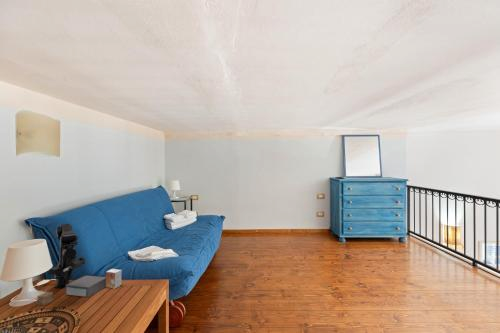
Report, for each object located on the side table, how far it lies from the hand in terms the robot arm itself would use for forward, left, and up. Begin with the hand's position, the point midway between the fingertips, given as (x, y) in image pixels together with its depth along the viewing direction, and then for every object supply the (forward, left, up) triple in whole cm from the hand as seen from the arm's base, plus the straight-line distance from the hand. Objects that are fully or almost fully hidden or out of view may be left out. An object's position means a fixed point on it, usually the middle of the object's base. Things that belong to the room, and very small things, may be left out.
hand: (67, 280), depth 142 cm
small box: (+13, +22, -12) cm, 28 cm away
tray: (0, +12, -12) cm, 17 cm away
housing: (0, +14, -12) cm, 18 cm away
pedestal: (-11, -4, -12) cm, 17 cm away
